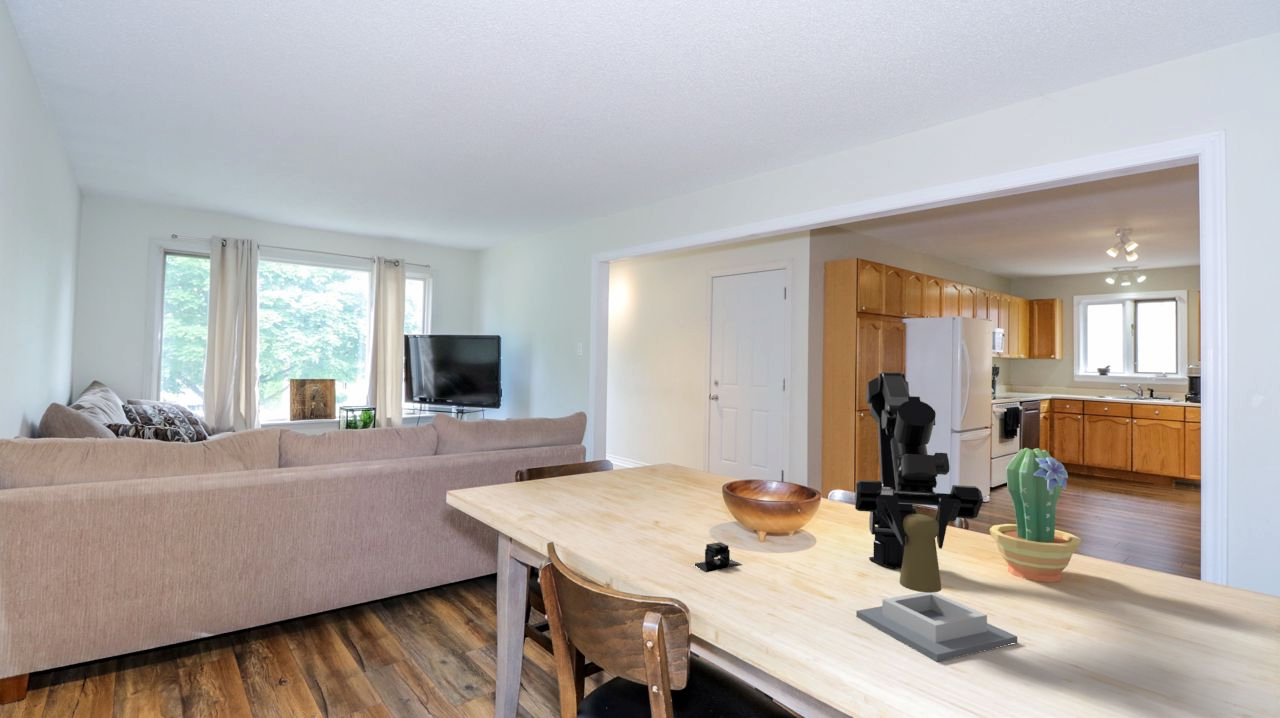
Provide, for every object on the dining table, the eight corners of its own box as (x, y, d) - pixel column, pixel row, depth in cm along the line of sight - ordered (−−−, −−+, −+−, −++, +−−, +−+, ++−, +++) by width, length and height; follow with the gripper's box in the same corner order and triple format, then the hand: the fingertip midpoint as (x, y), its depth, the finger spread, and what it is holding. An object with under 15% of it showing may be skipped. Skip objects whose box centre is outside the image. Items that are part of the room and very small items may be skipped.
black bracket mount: (702, 577, 118) (702, 554, 118) (681, 566, 124) (682, 544, 124) (751, 567, 124) (751, 545, 124) (729, 557, 130) (729, 536, 130)
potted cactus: (993, 580, 116) (993, 450, 116) (986, 557, 130) (986, 441, 130) (1090, 593, 110) (1091, 456, 110) (1072, 568, 123) (1072, 446, 124)
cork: (926, 577, 98) (927, 510, 98) (950, 591, 92) (950, 520, 92) (891, 578, 97) (892, 511, 97) (913, 593, 91) (913, 520, 91)
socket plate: (929, 603, 104) (929, 583, 104) (1017, 643, 89) (1017, 619, 90) (856, 616, 98) (856, 595, 99) (937, 661, 84) (937, 636, 84)
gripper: (856, 432, 101) (861, 513, 90) (980, 436, 96) (1001, 523, 85) (852, 470, 109) (857, 550, 98) (967, 476, 104) (985, 561, 93)
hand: (922, 545), depth 93 cm, fingers closed on cork, 5 cm apart
